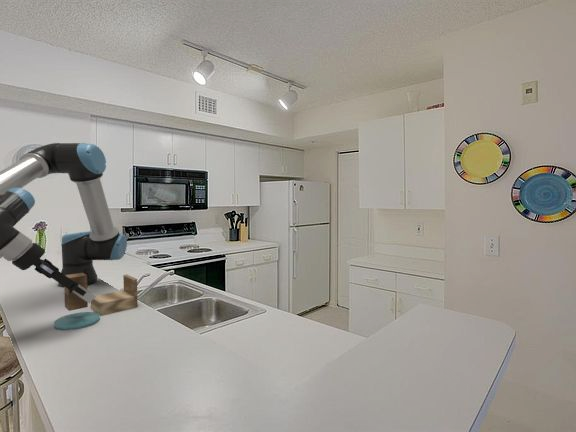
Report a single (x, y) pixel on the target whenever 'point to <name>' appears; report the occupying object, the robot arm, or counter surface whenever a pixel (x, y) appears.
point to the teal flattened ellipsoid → (76, 320)
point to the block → (72, 299)
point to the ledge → (117, 298)
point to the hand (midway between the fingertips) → (89, 297)
